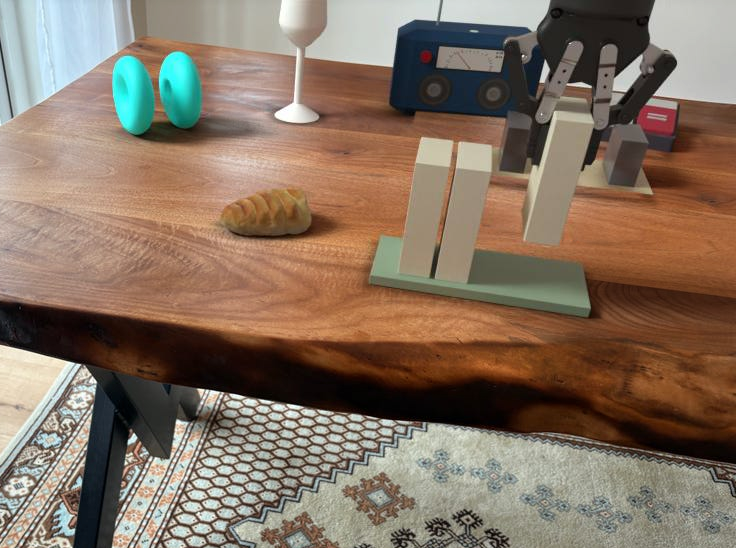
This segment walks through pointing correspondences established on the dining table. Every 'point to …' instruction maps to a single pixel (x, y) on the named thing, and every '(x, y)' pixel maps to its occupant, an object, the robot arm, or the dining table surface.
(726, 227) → the dining table surface
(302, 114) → the champagne flute
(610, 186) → the grey bookends
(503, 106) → the radio
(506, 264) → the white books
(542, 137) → the robot arm
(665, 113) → the calculator
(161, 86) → the donuts
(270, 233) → the pastry
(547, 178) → the cream book
